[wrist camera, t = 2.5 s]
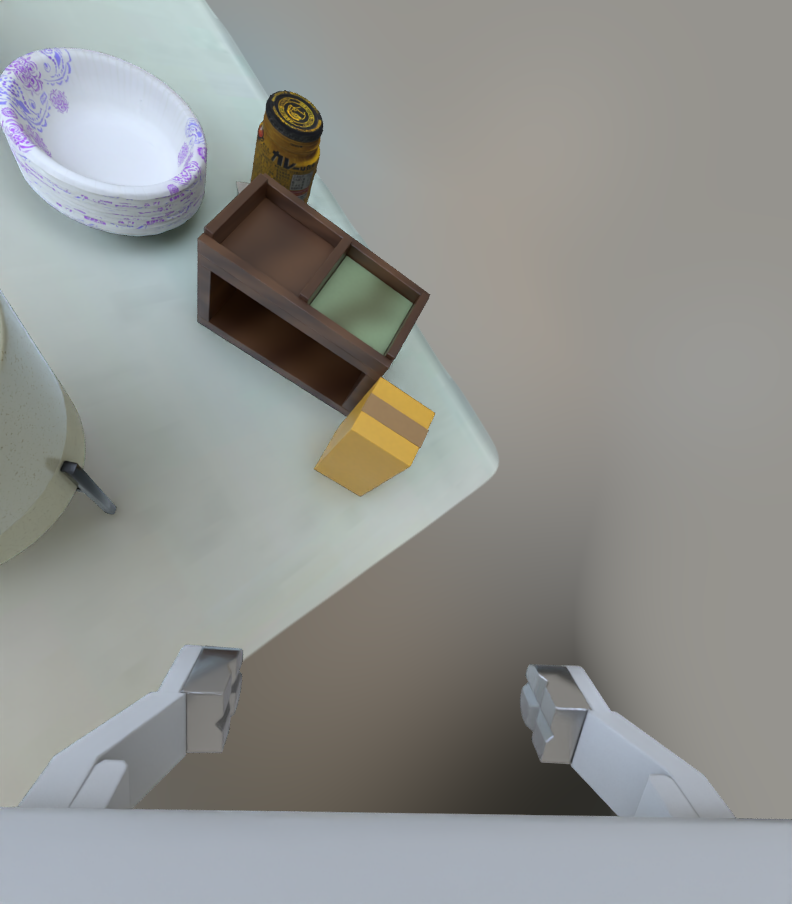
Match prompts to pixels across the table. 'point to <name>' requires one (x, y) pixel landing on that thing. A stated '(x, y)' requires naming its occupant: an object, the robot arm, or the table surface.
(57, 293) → the table surface
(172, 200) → the paper bowls
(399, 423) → the package
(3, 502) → the planter
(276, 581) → the table surface
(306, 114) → the condiment
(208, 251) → the rack
